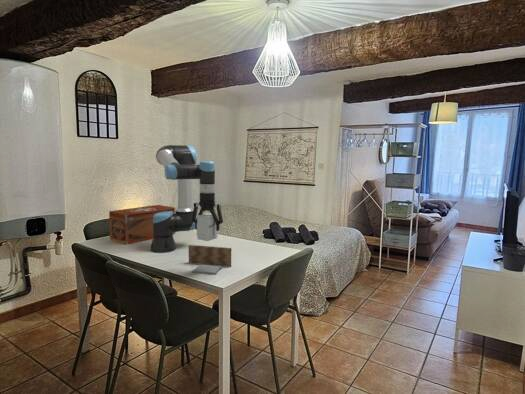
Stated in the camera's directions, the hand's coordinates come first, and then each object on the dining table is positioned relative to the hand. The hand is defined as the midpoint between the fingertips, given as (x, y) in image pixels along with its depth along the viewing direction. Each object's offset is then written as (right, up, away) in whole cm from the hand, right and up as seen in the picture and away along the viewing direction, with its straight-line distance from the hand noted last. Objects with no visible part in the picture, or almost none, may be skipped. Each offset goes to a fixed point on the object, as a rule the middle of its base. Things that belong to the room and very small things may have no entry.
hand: (207, 236), depth 167 cm
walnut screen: (-1, -17, +11) cm, 20 cm away
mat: (0, -18, +2) cm, 18 cm away
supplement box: (0, -2, 0) cm, 2 cm away
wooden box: (-57, -9, +69) cm, 90 cm away
